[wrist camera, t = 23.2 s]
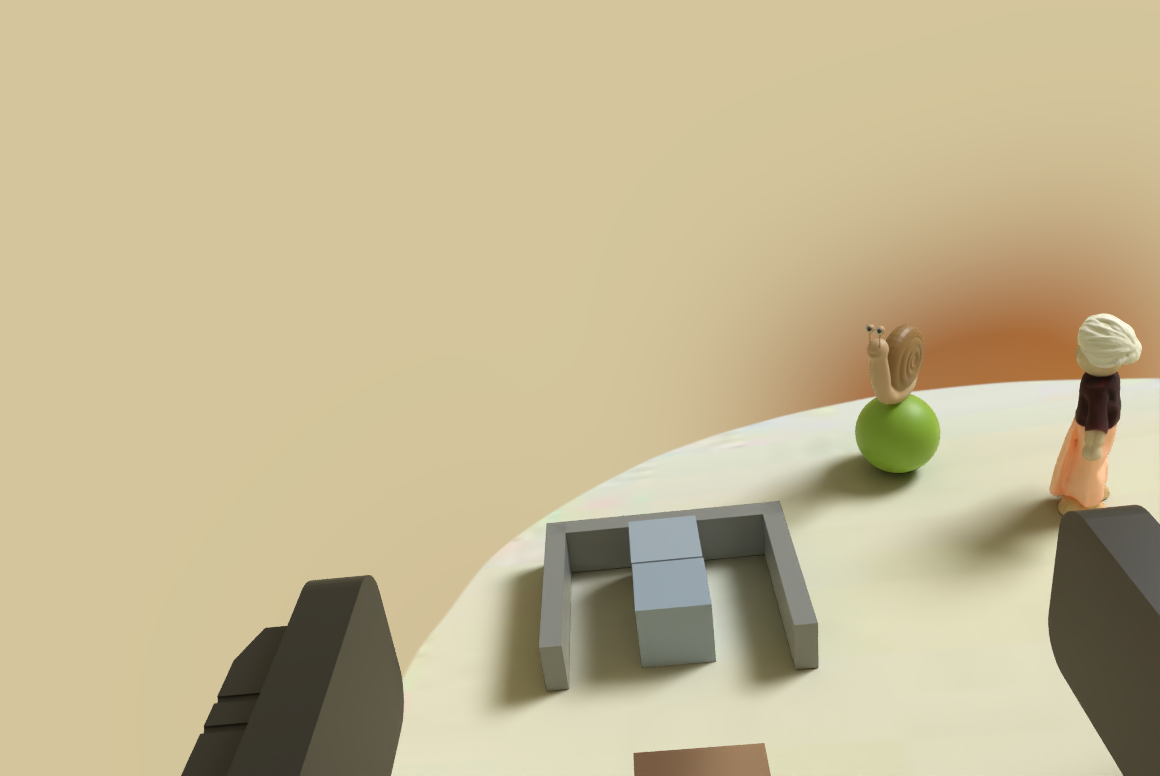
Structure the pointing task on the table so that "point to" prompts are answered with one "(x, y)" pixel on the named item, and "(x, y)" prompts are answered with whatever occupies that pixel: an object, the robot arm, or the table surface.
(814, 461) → the table surface
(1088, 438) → the grandmother figurine
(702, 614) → the block
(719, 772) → the tall wooden pillar
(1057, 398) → the table surface
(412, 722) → the table surface
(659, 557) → the block
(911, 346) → the snail figurine
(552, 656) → the grey u-shaped wall
